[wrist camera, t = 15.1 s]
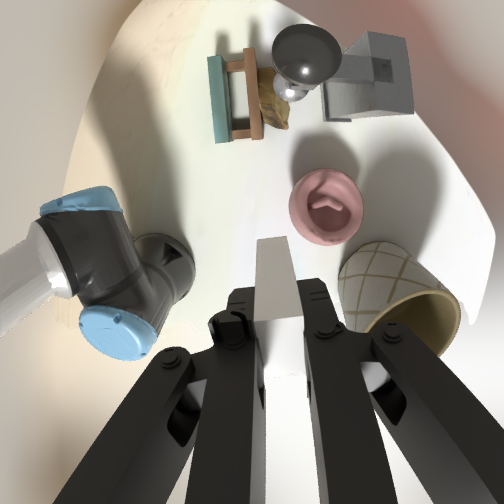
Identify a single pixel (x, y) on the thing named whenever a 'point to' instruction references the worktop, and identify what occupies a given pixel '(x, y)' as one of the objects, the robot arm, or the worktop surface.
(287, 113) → the rock
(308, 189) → the mortar and pestle
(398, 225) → the worktop surface
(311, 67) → the ram
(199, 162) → the worktop surface
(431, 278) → the planter
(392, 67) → the press frame
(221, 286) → the worktop surface
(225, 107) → the frame
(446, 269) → the worktop surface
